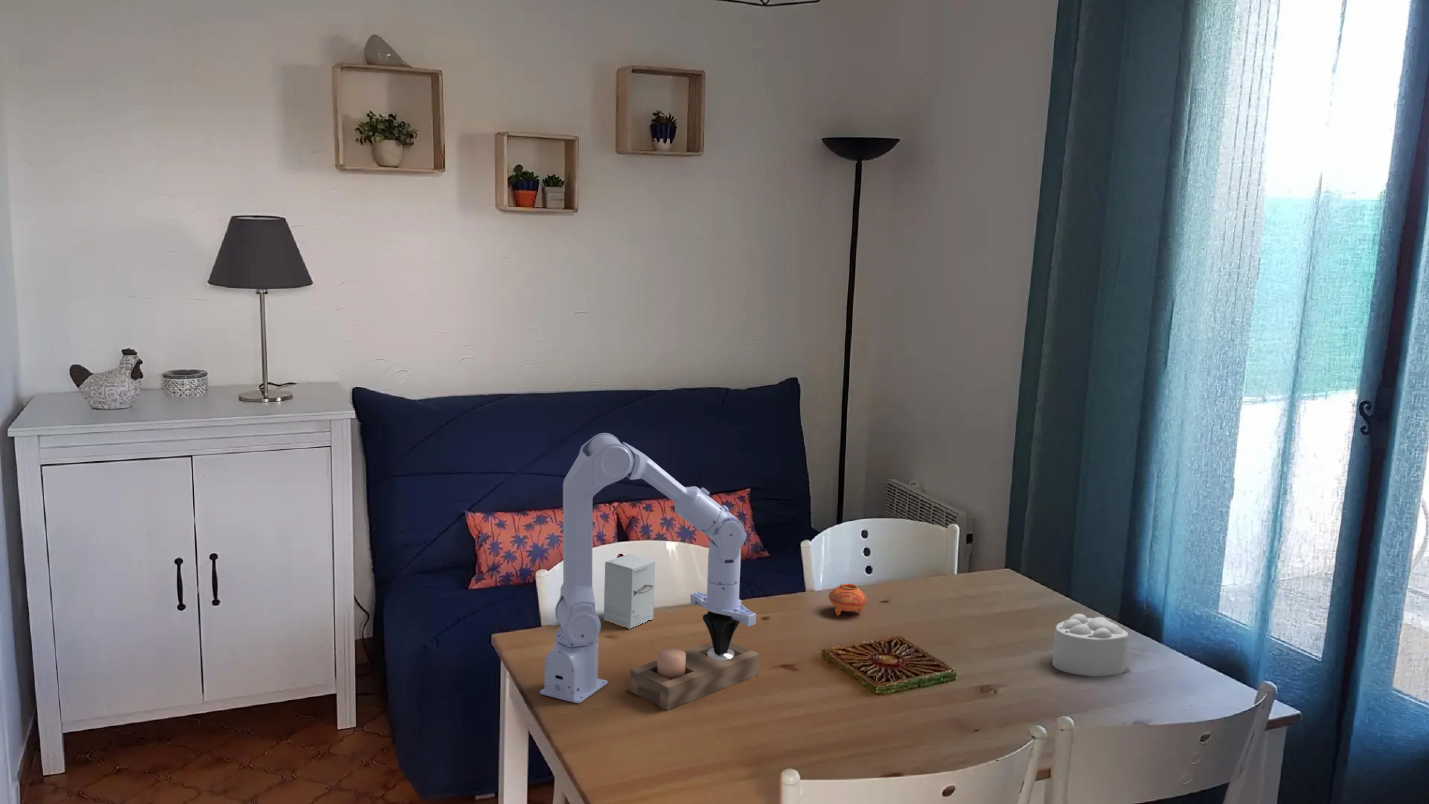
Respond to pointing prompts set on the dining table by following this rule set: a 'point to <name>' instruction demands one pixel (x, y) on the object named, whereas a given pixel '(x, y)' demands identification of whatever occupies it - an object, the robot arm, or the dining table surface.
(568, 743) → the dining table surface
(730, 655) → the far peg
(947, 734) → the dining table surface
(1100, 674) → the lumpy-topped squat cylinder
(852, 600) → the pot
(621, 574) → the supplement box
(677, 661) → the near peg
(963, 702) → the dining table surface
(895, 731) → the dining table surface
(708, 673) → the wooden peg holder
